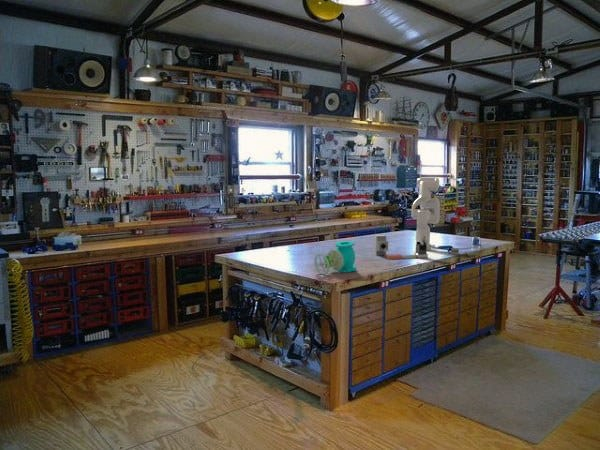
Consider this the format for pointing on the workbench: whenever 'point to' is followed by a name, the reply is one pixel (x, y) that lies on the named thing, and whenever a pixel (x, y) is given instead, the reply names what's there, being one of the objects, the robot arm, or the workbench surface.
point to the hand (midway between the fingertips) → (421, 249)
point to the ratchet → (406, 256)
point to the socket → (420, 249)
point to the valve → (338, 258)
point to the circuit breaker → (380, 245)
